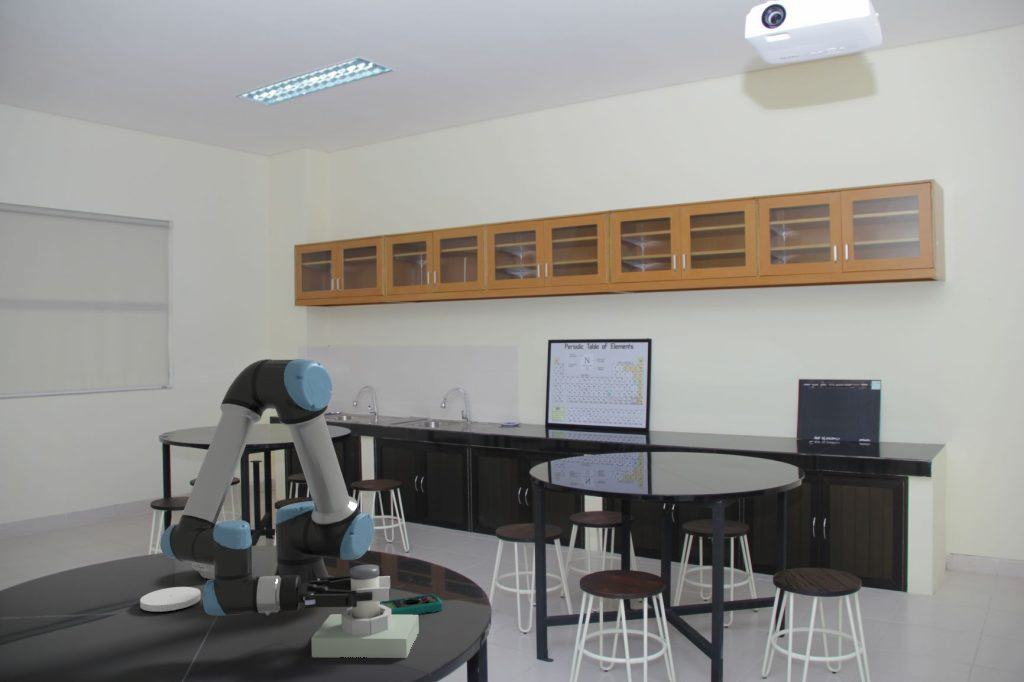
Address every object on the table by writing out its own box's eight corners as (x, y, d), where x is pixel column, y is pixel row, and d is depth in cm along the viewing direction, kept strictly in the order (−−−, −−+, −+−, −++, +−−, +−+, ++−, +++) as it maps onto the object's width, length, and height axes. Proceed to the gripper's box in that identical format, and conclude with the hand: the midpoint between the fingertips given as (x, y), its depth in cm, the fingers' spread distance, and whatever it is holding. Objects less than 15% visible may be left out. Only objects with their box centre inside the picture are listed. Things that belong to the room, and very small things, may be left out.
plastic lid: (178, 593, 212) (177, 583, 212) (212, 601, 205) (212, 592, 205) (128, 609, 200) (128, 599, 200) (163, 619, 193) (162, 608, 193)
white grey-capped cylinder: (356, 619, 178) (353, 565, 178) (383, 618, 177) (381, 564, 178) (348, 629, 172) (346, 572, 172) (377, 628, 171) (375, 571, 171)
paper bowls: (238, 582, 219) (237, 553, 219) (182, 583, 219) (181, 554, 219) (256, 566, 234) (255, 538, 234) (204, 566, 235) (203, 539, 235)
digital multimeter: (444, 612, 194) (444, 600, 194) (384, 622, 189) (384, 609, 189) (435, 603, 201) (435, 591, 201) (376, 612, 195) (376, 600, 195)
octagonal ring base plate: (331, 631, 182) (330, 601, 182) (418, 632, 181) (418, 601, 181) (311, 657, 168) (311, 623, 168) (406, 658, 167) (405, 624, 167)
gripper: (289, 595, 182) (391, 590, 185) (272, 628, 163) (387, 621, 165) (288, 562, 182) (390, 557, 185) (271, 591, 162) (386, 585, 165)
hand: (389, 588), depth 175 cm, fingers open, 7 cm apart
